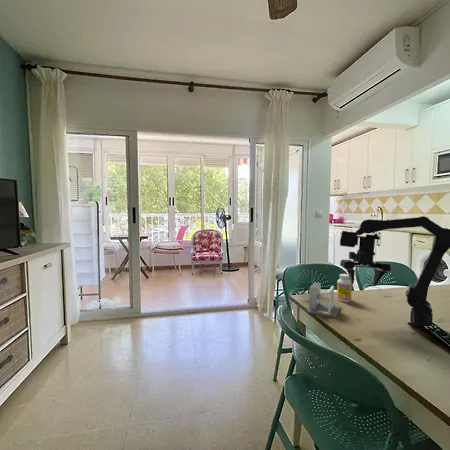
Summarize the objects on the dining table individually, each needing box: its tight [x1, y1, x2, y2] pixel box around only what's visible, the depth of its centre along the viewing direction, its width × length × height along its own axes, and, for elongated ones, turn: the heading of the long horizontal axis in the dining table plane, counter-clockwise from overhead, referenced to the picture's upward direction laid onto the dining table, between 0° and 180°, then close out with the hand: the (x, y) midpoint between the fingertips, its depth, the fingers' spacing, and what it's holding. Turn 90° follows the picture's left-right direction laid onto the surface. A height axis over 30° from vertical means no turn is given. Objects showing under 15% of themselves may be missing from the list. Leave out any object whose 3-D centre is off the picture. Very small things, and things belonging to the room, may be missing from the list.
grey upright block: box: [318, 285, 335, 313], centre depth 120 cm, size 8×11×9 cm, turn 150°
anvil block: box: [308, 282, 322, 311], centre depth 123 cm, size 3×10×10 cm, turn 150°
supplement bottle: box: [336, 273, 353, 303], centre depth 135 cm, size 7×7×13 cm
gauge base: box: [306, 301, 341, 319], centre depth 121 cm, size 12×14×1 cm
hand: (363, 284), depth 114 cm, fingers open, 9 cm apart
